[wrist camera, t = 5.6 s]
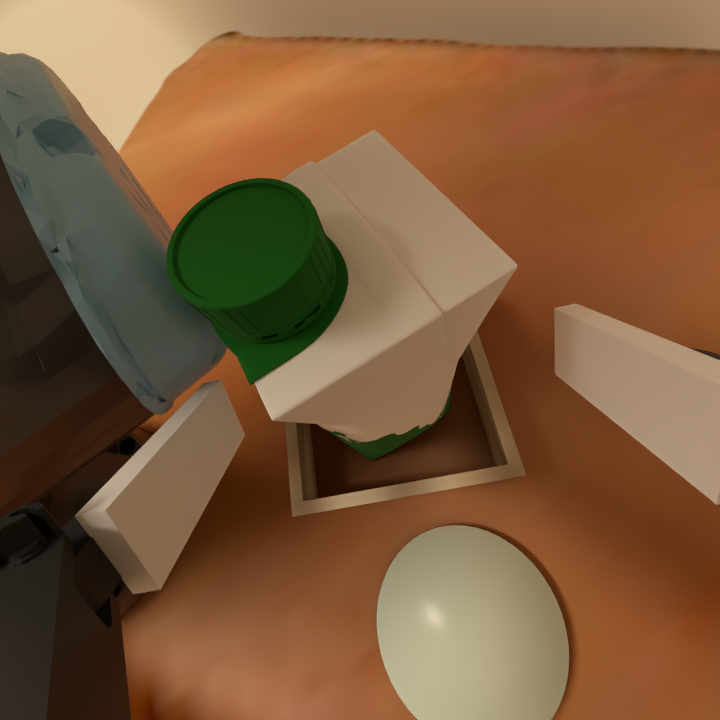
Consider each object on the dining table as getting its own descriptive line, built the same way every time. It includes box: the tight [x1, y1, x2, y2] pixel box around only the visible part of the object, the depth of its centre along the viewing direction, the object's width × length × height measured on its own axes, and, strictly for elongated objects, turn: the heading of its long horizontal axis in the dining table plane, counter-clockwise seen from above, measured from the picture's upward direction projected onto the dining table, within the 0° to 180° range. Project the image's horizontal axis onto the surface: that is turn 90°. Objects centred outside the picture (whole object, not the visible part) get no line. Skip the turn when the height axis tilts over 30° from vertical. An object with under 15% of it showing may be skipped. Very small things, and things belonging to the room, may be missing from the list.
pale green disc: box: [377, 525, 569, 720], centre depth 20 cm, size 11×11×1 cm
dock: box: [285, 331, 526, 517], centre depth 25 cm, size 15×15×4 cm
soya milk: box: [166, 130, 518, 461], centre depth 18 cm, size 9×9×20 cm
